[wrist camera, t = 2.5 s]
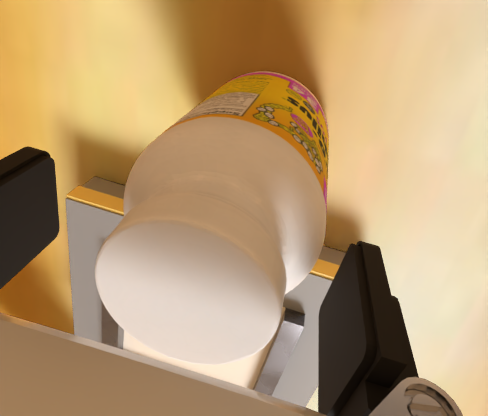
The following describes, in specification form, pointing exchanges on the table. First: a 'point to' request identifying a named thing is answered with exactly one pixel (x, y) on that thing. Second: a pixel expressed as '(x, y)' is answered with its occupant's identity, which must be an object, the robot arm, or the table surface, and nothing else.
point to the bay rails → (274, 359)
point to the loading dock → (90, 327)
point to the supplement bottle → (220, 222)
